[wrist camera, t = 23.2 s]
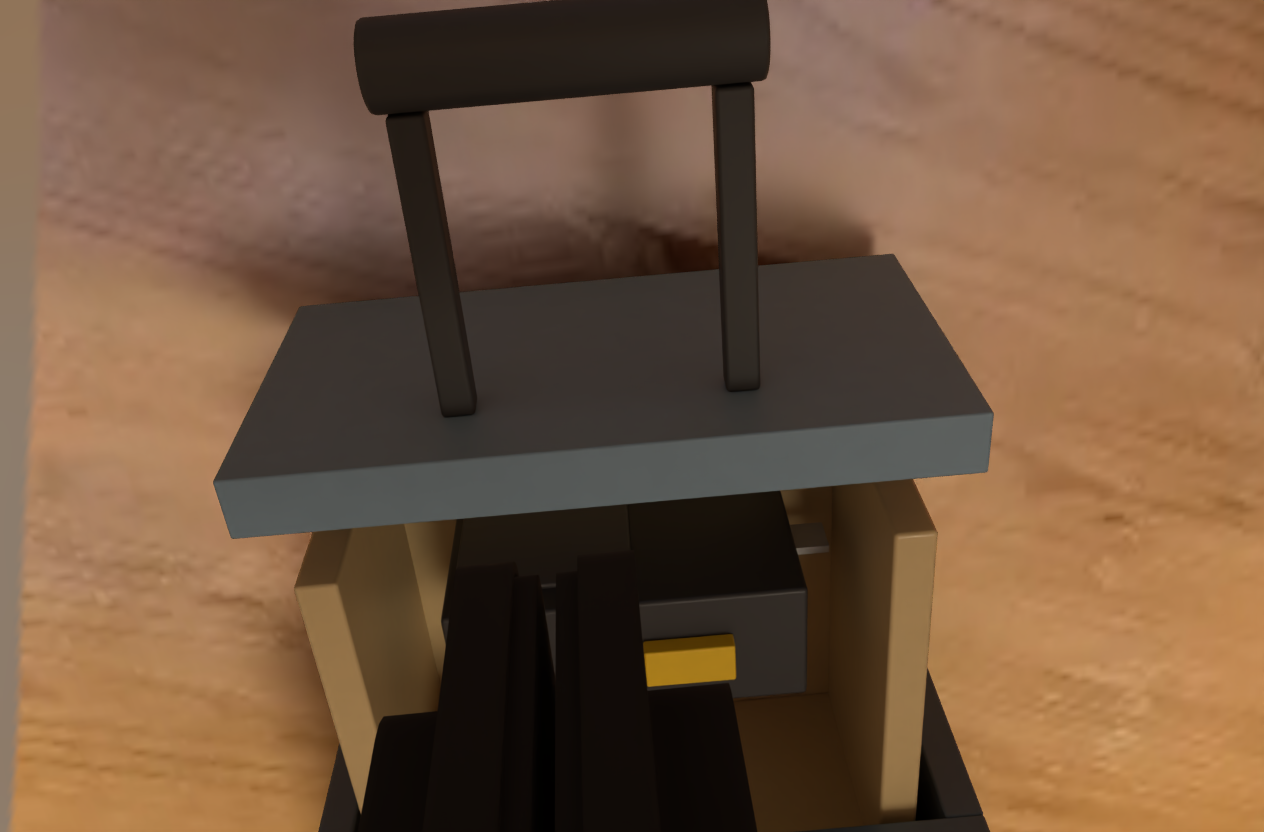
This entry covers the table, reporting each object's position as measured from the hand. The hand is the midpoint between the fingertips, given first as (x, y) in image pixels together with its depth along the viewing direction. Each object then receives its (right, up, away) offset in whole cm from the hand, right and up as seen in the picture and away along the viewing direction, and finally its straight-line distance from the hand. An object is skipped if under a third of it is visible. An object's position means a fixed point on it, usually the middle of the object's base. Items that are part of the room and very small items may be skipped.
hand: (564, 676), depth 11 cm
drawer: (0, +3, +15) cm, 15 cm away
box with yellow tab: (0, 0, +16) cm, 15 cm away
